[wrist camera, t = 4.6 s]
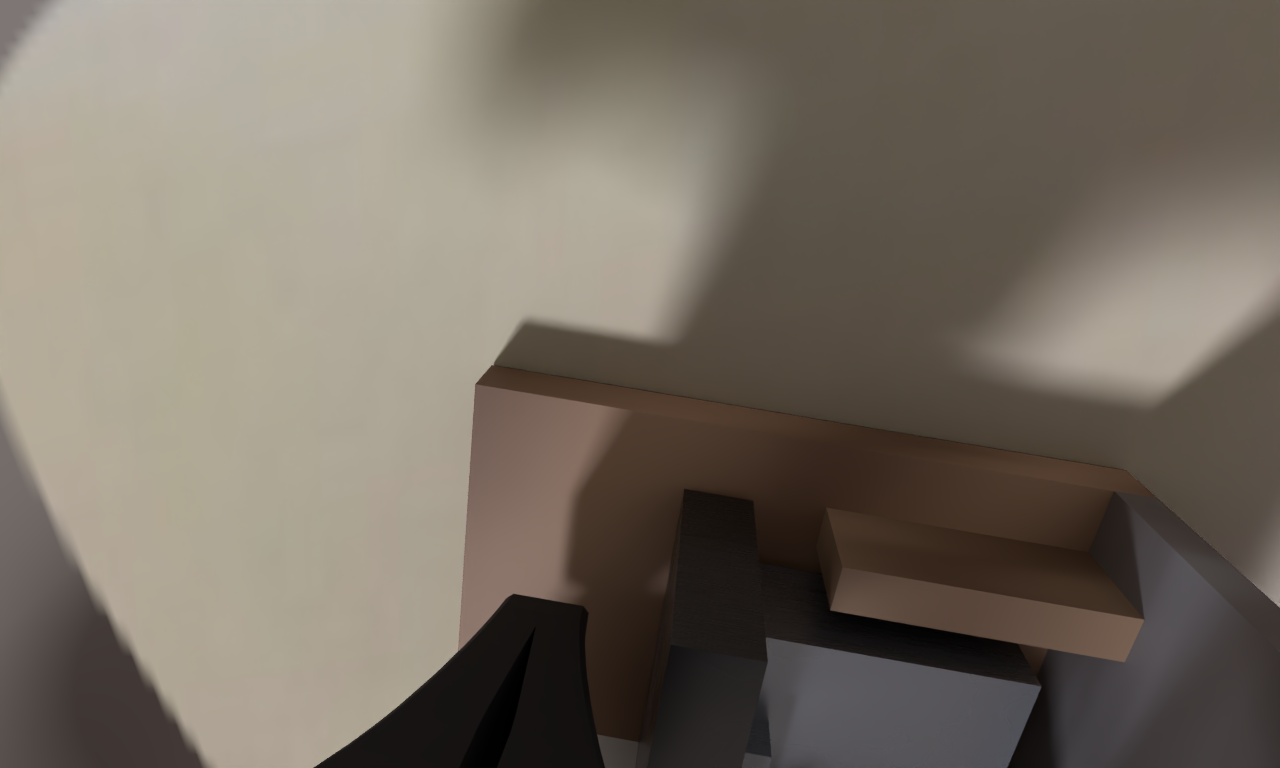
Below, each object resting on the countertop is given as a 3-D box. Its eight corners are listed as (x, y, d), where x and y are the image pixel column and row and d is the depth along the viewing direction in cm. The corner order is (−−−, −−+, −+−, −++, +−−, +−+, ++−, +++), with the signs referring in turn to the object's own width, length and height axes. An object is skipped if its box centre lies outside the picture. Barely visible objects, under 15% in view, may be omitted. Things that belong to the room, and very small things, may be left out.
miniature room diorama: (1125, 470, 13) (1423, 735, 8) (989, 798, 16) (1133, 1166, 11) (491, 365, 14) (337, 543, 8) (467, 702, 17) (340, 1004, 11)
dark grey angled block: (1017, 546, 13) (1142, 728, 9) (926, 787, 15) (997, 1020, 11) (684, 488, 13) (671, 644, 9) (639, 734, 15) (613, 944, 11)
